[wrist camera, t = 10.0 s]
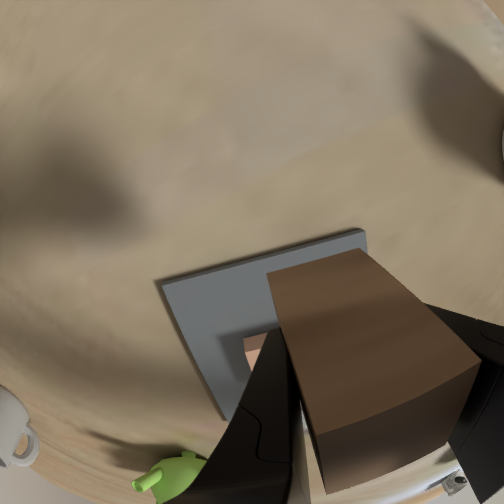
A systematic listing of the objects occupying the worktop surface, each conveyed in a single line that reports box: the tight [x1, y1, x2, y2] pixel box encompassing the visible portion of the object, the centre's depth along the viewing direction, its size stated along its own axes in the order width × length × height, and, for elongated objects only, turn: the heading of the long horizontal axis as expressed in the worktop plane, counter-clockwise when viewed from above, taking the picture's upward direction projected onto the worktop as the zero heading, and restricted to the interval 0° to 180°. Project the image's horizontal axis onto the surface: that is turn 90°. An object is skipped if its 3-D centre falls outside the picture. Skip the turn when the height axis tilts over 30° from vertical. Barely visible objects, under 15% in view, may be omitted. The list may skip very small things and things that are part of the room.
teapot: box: [131, 451, 206, 504], centre depth 24 cm, size 11×12×8 cm
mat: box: [162, 229, 367, 423], centre depth 22 cm, size 16×14×1 cm
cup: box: [0, 385, 40, 468], centre depth 19 cm, size 7×10×9 cm
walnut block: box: [266, 248, 482, 495], centre depth 7 cm, size 3×3×6 cm
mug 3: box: [442, 469, 468, 496], centre depth 47 cm, size 10×7×7 cm, turn 65°
